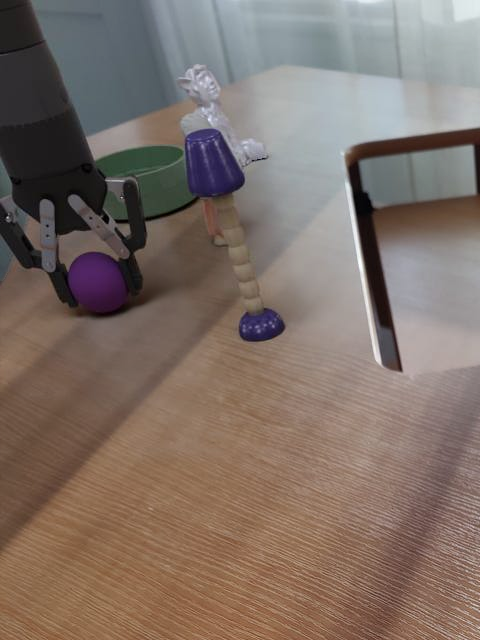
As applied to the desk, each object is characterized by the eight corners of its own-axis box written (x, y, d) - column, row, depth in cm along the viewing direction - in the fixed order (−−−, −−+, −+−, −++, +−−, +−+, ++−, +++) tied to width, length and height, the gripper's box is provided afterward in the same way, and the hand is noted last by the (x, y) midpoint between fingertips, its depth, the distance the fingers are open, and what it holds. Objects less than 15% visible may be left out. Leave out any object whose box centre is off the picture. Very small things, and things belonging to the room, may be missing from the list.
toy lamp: (288, 337, 80) (234, 134, 68) (237, 348, 79) (174, 146, 67) (281, 316, 83) (229, 119, 71) (233, 327, 82) (172, 130, 70)
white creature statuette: (236, 179, 114) (207, 73, 106) (181, 179, 117) (149, 75, 109) (271, 156, 121) (246, 54, 112) (218, 156, 123) (189, 56, 115)
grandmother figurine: (214, 230, 102) (177, 106, 93) (247, 225, 102) (213, 101, 93) (207, 255, 96) (166, 126, 87) (241, 250, 96) (204, 121, 87)
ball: (78, 326, 86) (53, 269, 82) (85, 303, 90) (61, 248, 86) (135, 316, 86) (113, 259, 82) (139, 293, 90) (118, 238, 86)
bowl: (91, 231, 106) (73, 187, 102) (102, 196, 115) (86, 155, 112) (199, 212, 107) (186, 167, 103) (201, 179, 116) (189, 138, 113)
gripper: (115, 85, 79) (178, 272, 91) (-48, 111, 78) (38, 297, 90) (107, 105, 73) (175, 301, 85) (-68, 134, 72) (27, 328, 84)
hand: (105, 298), depth 87 cm, fingers closed on ball, 5 cm apart
